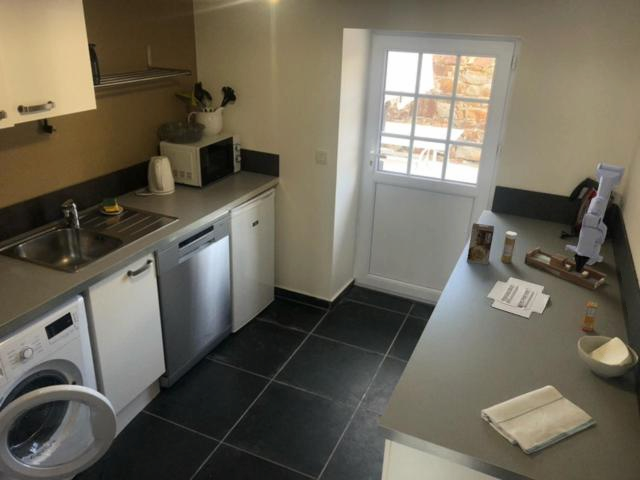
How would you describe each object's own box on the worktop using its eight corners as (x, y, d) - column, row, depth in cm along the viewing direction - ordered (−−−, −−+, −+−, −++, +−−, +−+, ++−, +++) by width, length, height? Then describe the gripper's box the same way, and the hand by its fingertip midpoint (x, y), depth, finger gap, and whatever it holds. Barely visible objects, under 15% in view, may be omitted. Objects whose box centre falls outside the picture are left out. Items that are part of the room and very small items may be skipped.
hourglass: (581, 324, 190) (588, 300, 186) (591, 327, 189) (599, 303, 185) (580, 329, 188) (587, 305, 183) (591, 332, 186) (598, 307, 182)
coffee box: (488, 259, 235) (495, 225, 229) (487, 265, 230) (494, 231, 223) (467, 255, 238) (473, 222, 231) (466, 261, 232) (472, 227, 226)
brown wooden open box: (536, 255, 241) (538, 246, 239) (604, 281, 220) (607, 272, 219) (524, 262, 234) (526, 253, 232) (592, 290, 214) (595, 280, 212)
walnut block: (554, 261, 232) (556, 253, 230) (565, 265, 228) (567, 257, 226) (549, 264, 228) (551, 256, 227) (560, 269, 225) (562, 260, 223)
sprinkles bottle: (513, 261, 234) (519, 233, 229) (506, 264, 232) (512, 236, 226) (505, 257, 238) (510, 230, 232) (498, 259, 235) (503, 232, 230)
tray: (481, 305, 201) (483, 297, 199) (500, 278, 223) (502, 270, 222) (538, 323, 191) (540, 314, 190) (552, 293, 213) (554, 285, 212)
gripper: (564, 237, 219) (557, 267, 224) (600, 250, 209) (592, 280, 215) (572, 233, 223) (565, 262, 229) (608, 245, 213) (599, 275, 219)
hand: (578, 271), depth 222 cm, fingers closed
